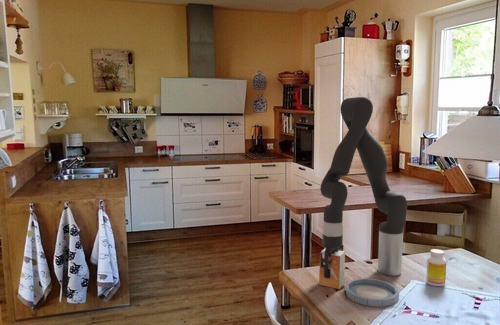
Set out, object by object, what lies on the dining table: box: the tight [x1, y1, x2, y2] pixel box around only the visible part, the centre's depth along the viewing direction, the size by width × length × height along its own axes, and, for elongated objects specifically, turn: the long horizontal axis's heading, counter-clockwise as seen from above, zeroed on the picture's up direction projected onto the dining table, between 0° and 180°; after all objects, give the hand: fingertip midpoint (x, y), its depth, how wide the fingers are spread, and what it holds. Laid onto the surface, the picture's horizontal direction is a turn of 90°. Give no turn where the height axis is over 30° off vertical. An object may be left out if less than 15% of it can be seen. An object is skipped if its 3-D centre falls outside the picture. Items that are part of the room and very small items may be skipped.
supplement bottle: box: [425, 248, 447, 287], centre depth 156 cm, size 7×7×13 cm
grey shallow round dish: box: [345, 277, 400, 308], centre depth 147 cm, size 18×18×2 cm
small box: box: [318, 248, 346, 290], centre depth 156 cm, size 8×6×13 cm
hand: (331, 274), depth 156 cm, fingers closed on small box, 7 cm apart
